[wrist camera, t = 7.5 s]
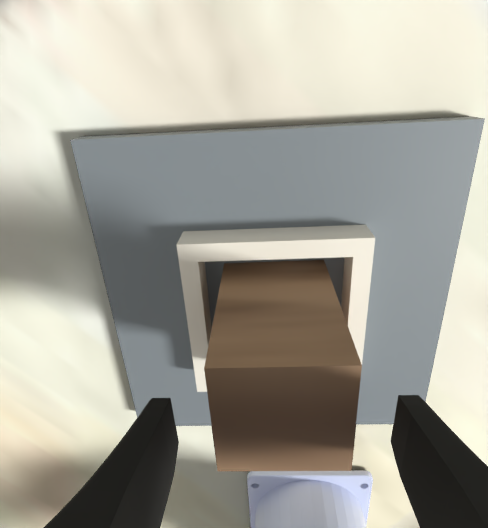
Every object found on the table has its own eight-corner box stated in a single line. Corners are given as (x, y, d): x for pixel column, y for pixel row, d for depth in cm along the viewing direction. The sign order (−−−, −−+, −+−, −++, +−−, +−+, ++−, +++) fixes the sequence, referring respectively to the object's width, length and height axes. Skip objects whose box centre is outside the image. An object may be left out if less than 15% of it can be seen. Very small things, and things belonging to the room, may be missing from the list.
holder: (414, 409, 22) (431, 447, 20) (144, 412, 23) (131, 448, 21) (471, 116, 15) (508, 123, 13) (81, 136, 16) (51, 146, 14)
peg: (320, 341, 19) (351, 470, 13) (231, 343, 19) (217, 471, 13) (324, 259, 17) (362, 365, 11) (224, 263, 17) (203, 368, 11)
